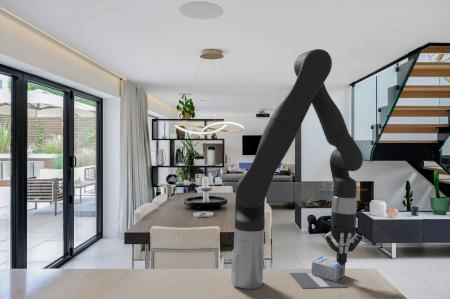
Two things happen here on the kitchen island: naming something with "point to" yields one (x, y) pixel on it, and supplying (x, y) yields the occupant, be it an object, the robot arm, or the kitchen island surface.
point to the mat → (316, 281)
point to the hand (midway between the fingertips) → (341, 264)
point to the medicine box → (327, 268)
